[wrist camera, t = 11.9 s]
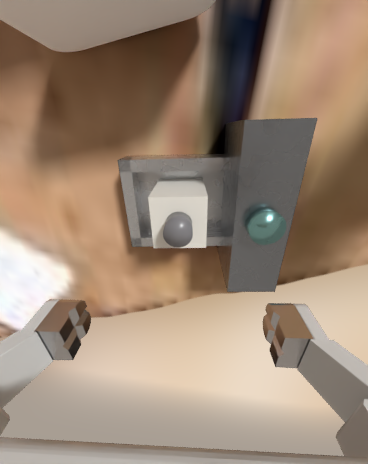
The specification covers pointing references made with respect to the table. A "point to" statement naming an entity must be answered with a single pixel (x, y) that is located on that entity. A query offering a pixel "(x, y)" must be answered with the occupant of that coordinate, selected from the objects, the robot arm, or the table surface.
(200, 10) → the cable organizer
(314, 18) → the table surface
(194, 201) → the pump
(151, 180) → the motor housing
